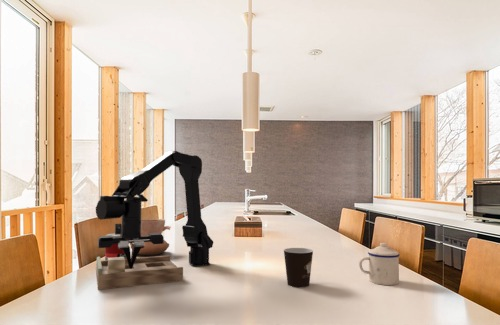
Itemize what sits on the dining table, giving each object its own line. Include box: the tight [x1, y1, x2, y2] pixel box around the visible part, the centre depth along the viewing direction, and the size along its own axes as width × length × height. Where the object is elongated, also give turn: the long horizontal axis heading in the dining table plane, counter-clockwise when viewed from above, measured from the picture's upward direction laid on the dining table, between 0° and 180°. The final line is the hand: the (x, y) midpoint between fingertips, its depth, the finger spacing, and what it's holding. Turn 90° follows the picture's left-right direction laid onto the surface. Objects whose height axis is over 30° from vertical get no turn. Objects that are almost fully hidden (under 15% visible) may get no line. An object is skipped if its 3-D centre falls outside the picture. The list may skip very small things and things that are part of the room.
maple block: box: [108, 257, 125, 273], centre depth 111 cm, size 4×4×4 cm
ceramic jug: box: [129, 218, 172, 256], centre depth 155 cm, size 18×14×14 cm
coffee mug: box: [283, 247, 314, 288], centre depth 110 cm, size 12×9×10 cm
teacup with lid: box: [358, 242, 400, 286], centre depth 113 cm, size 12×9×12 cm
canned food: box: [104, 232, 126, 260], centre depth 133 cm, size 8×8×11 cm
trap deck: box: [95, 255, 184, 291], centre depth 117 cm, size 24×20×6 cm
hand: (130, 268), depth 112 cm, fingers closed
